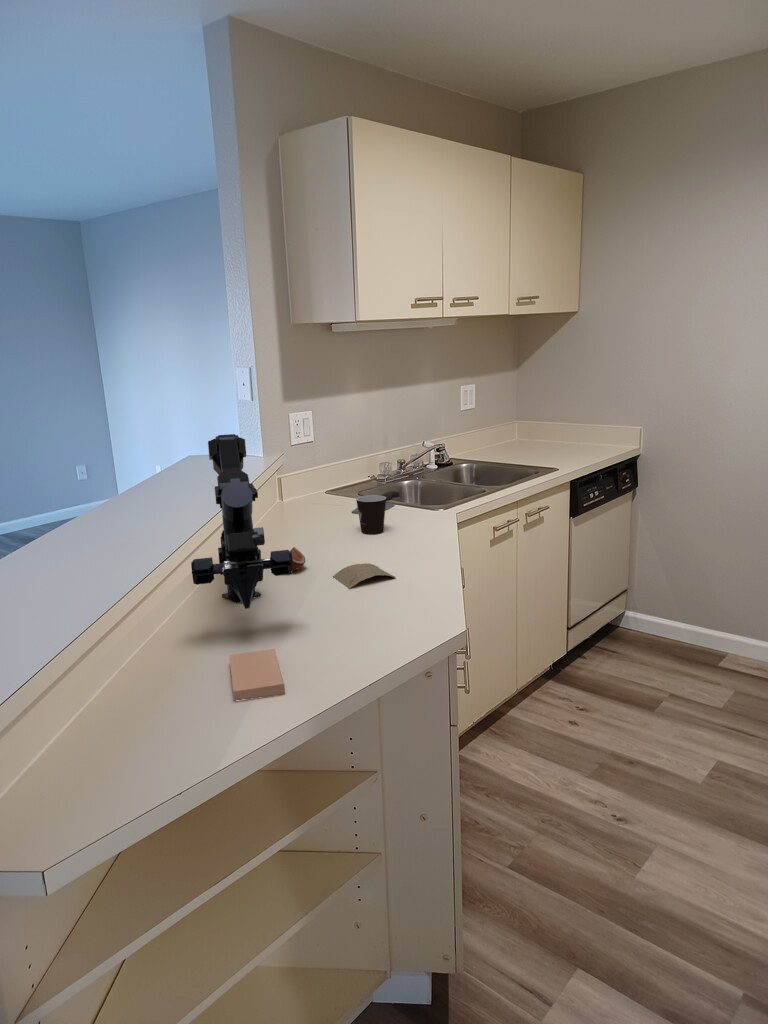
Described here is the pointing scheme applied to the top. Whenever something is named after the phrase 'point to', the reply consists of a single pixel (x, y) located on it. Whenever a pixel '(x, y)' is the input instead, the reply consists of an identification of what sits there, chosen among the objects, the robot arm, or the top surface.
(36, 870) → the top surface
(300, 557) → the fruit slice
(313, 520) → the top surface
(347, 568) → the clay tablet
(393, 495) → the cleaver
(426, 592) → the top surface
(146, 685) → the top surface
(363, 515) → the coffee mug
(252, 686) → the tile
